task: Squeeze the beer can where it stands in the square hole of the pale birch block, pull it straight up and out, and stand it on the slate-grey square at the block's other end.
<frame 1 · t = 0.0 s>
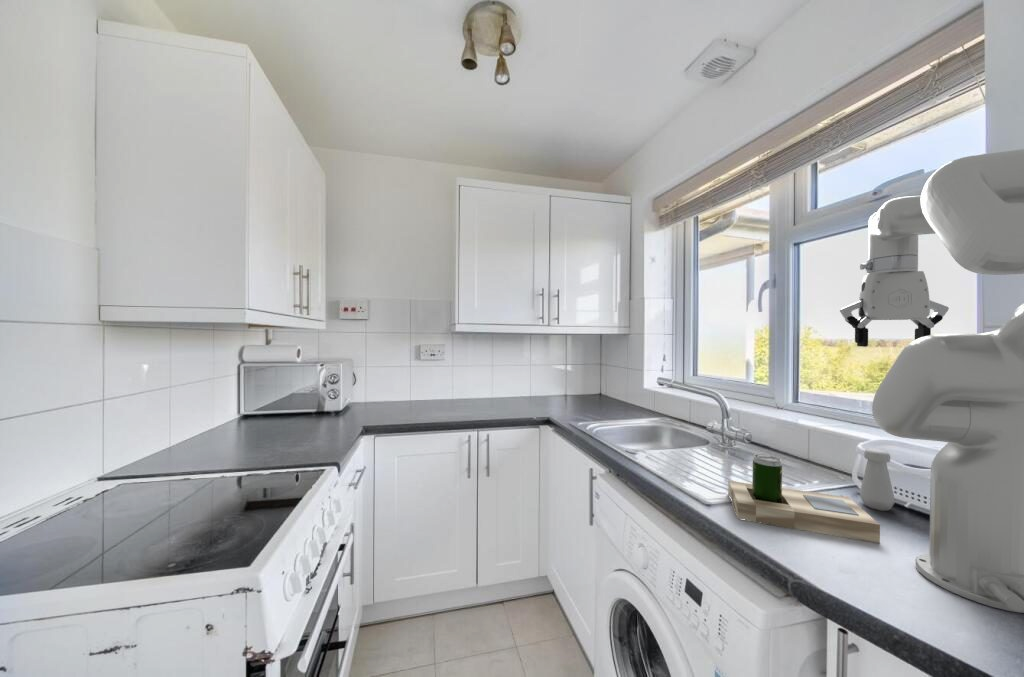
hand: (891, 346, 80), 37 cm above the worktop, tool pointing down, fingers open, 9 cm apart
salt shaker: (876, 507, 84), on the worktop
can block: (794, 516, 80), on the worktop
beer can: (766, 512, 82), resting in can block
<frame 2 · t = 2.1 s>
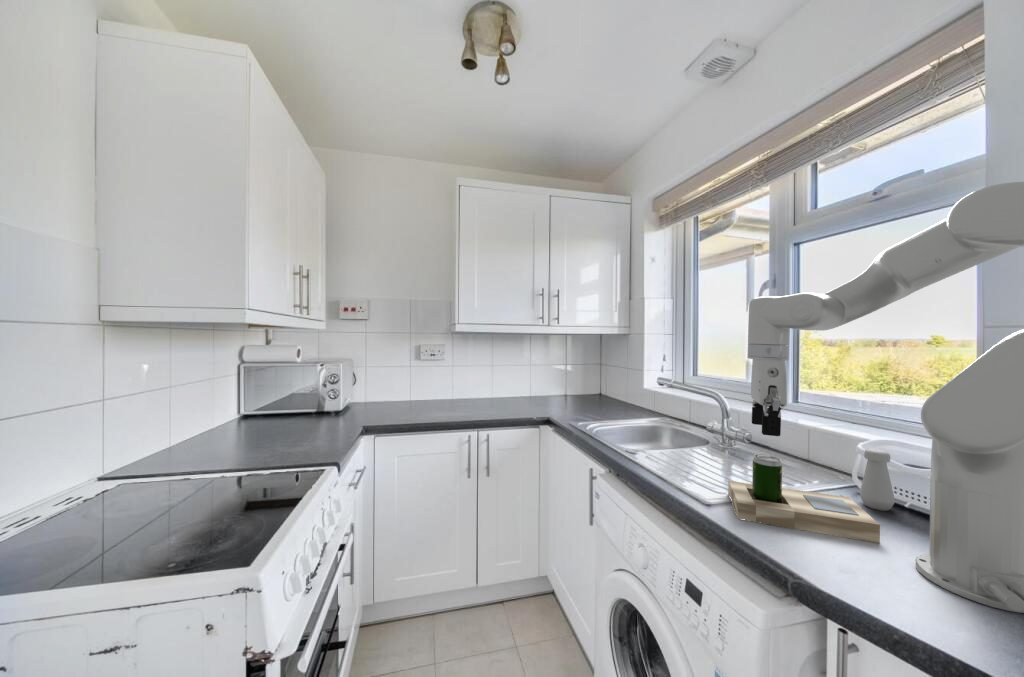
hand: (765, 429, 82), 18 cm above the worktop, tool pointing down, fingers open, 9 cm apart
nothing on the worktop moved.
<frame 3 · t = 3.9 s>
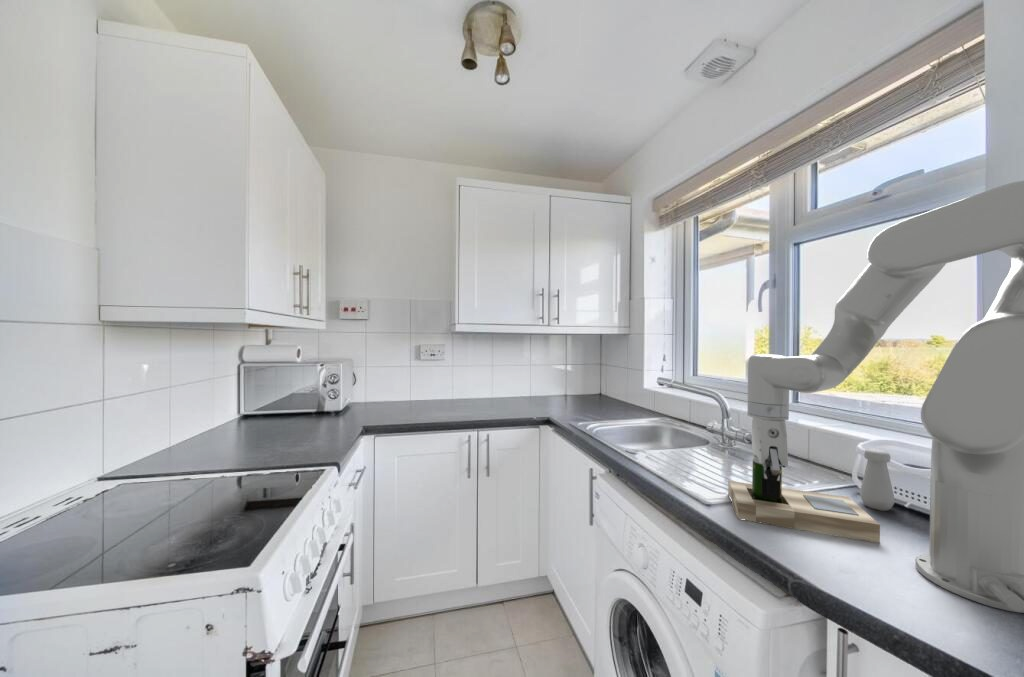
hand: (766, 491, 82), 5 cm above the worktop, tool pointing down, fingers closed on beer can, 5 cm apart
beer can: (766, 512, 82), resting in can block, touching gripper
everything else where it was.
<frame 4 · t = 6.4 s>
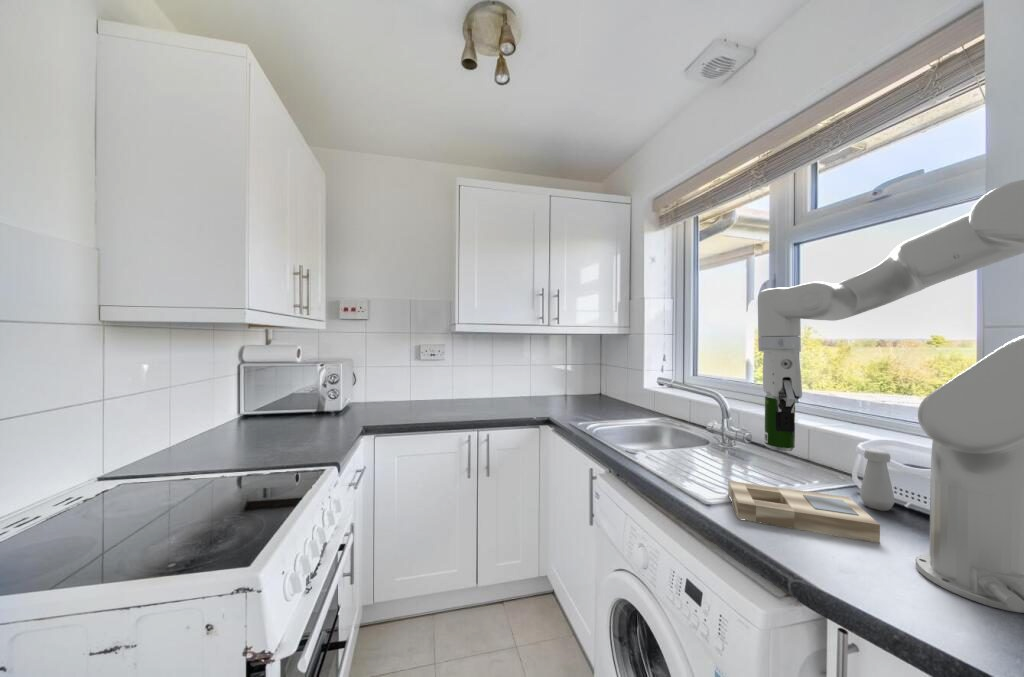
hand: (780, 427, 80), 19 cm above the worktop, tool pointing down, fingers closed on beer can, 5 cm apart
beer can: (779, 448, 80), point 14 cm above the worktop, touching gripper
everything else where it was.
when the fingers open (10 cm above the worktop, at t = 9.1 s): beer can drops 2 cm, resting on can block.
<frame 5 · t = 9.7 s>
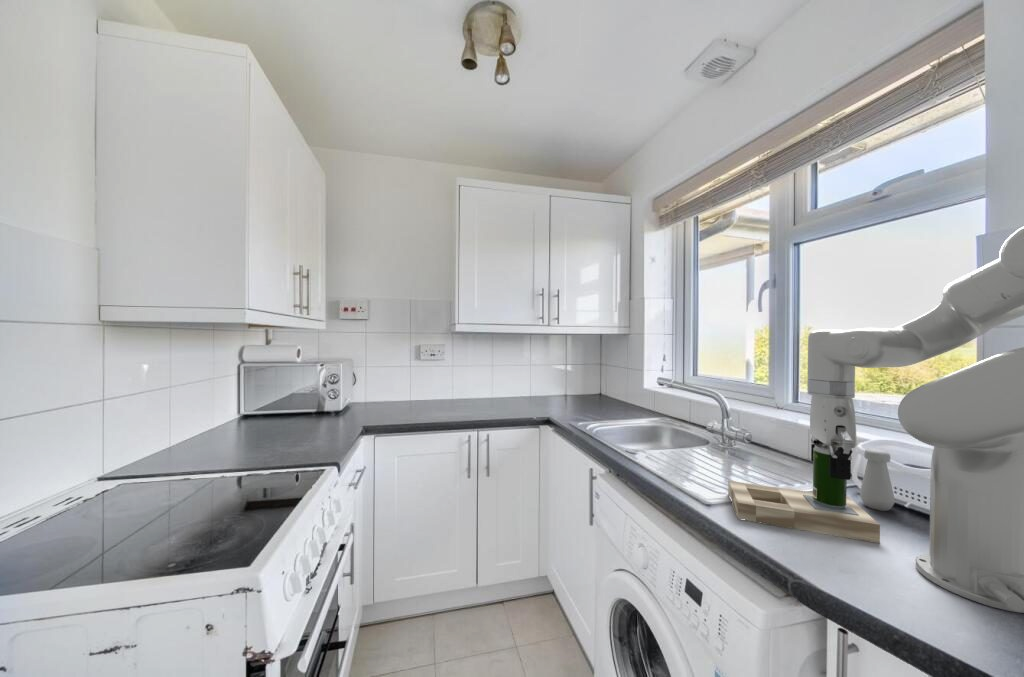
hand: (829, 470, 77), 11 cm above the worktop, tool pointing down, fingers open, 9 cm apart
beer can: (829, 505, 77), point 4 cm above the worktop, touching can block
everything else where it was.
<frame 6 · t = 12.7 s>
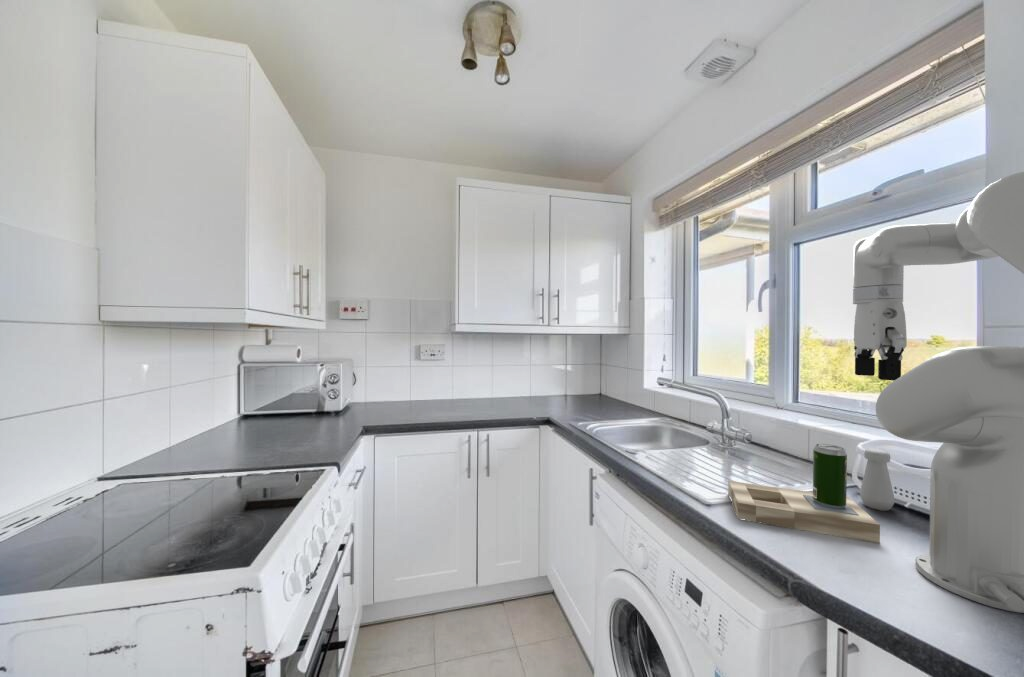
hand: (876, 377, 78), 30 cm above the worktop, tool pointing down, fingers open, 9 cm apart
nothing on the worktop moved.
at the end: beer can 0.1 cm from the target spot on the can block, point 3.5 cm above the can block's base; beer can tilted 0°; the gripper is holding nothing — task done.
